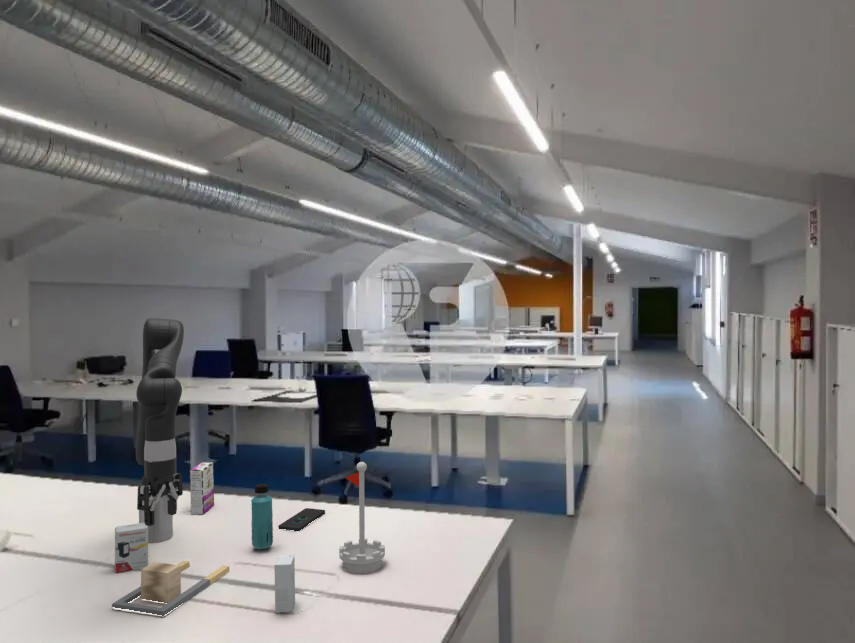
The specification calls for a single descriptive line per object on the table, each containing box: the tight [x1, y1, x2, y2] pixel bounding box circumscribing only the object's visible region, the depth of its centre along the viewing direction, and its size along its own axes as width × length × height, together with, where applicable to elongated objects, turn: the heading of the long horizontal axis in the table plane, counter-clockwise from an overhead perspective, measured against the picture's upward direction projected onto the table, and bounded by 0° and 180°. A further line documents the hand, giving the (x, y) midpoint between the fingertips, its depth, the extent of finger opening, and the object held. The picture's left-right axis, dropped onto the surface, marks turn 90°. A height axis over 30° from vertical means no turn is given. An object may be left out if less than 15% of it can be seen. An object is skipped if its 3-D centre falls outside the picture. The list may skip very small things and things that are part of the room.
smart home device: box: [277, 507, 326, 532], centre depth 220 cm, size 8×2×20 cm
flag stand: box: [338, 461, 386, 574], centre depth 182 cm, size 13×13×30 cm
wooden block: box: [140, 561, 182, 603], centre depth 162 cm, size 8×5×8 cm, turn 74°
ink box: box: [114, 522, 149, 574], centre depth 181 cm, size 9×5×12 cm, turn 118°
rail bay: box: [111, 560, 230, 616], centre depth 167 cm, size 15×28×2 cm, turn 164°
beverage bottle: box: [250, 483, 274, 549], centre depth 194 cm, size 6×7×20 cm
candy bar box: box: [189, 461, 215, 516], centre depth 232 cm, size 11×5×16 cm, turn 179°
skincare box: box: [274, 554, 296, 614], centre depth 157 cm, size 6×4×12 cm
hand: (161, 519), depth 161 cm, fingers open, 8 cm apart
